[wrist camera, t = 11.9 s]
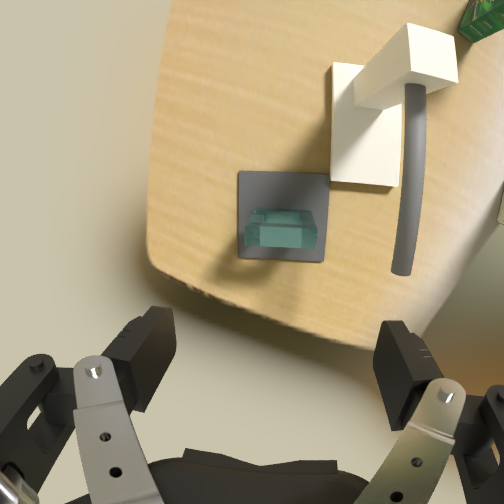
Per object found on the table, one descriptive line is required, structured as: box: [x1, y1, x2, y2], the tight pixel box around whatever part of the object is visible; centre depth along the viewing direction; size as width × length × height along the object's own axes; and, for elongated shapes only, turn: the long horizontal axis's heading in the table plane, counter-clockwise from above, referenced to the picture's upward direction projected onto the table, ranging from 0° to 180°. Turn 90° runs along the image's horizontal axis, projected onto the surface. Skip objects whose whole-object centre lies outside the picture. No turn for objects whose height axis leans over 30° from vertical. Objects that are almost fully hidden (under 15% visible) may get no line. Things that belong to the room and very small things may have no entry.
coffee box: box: [458, 0, 504, 43], centre depth 15 cm, size 8×3×13 cm, turn 151°
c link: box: [244, 208, 318, 249], centre depth 28 cm, size 6×2×8 cm, turn 89°
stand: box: [330, 23, 458, 276], centre depth 21 cm, size 7×16×16 cm, turn 179°
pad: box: [238, 171, 330, 262], centre depth 31 cm, size 9×9×1 cm
